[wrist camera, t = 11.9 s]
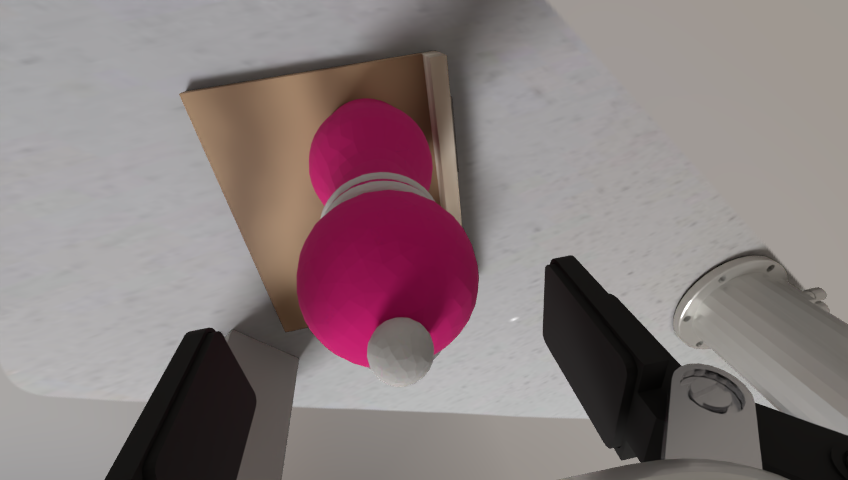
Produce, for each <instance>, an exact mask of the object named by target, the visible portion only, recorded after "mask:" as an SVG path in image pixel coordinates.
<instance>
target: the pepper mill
mask: <svg viewBox="0 0 848 480" xmlns="http://www.w3.org/2000/svg"><path fill="white" fill-rule="evenodd" d="M432 171H433V163H432V155H431V152H430V149H429V145H428V142H427V140H426V137H425V135H424V133H423V132H422V130H421V129H420V127H419V126H418V124H417V123H416V122H415V121H414V120H413V119H412V118H411V117H410V116H408V115H407V114H405V113H404V112H403V111H401V110H399V109H397V108H395V107H393V106H392V105H390V104H388V103H386V102H383V101H381V100H377V99H370V98H362V99H356V100H353V101H350V102H348V103H345V104H344V105H342V106H341V107H339V108H338V109H337V110H336V111H335V112H334V113H333V114H332V115H330V116H329V117H328V118H327V119H326V120H325V121H324V122H323V123H322V124H321V126H320V127H319V129H318V130H317V132H316V134H315V135H314V138H313V141H312V143H311V147H310V152H309V175H310V179H311V183H312V186H313V188H314V190H315V192H316V194H317V196H318V197H319V199H320V200H321V202H322V203H323V205H324V208H323V211H322V214H321V218H320V220H319V221H318V222H317V223H316V224H315V225H314V227H313V229H312V230H311V232H310V234H309V235H308V237H307V239H306V240H305V242H304V245H303V247H302V250H301V252H300V256H299V262H298V268H297V276H296V277H297V296H298V302H299V306H300V309H301V312H302V314H303V317H304V320H305V322H306V324H307V325H308V327H309V328H310V330H311V331H312V333H313V334H314V335H315V336H316V337H317V338H318V340H319V341H320V342H321V343H322V344H323V345H324V346H325V347H326V348H328V349H329V350H330V351H332V352H333V353H334V354H336V355H338V356H340V357H342V358H344V359H346V360H348V361H350V362H352V363H355V364H358V365H361V366H365V367H370V368H371V370H372V371H373V372H374V374H375V375H376V377H377V378H378V379H380V380H381V381H382V382H384V383H386V384H388V385H390V386H395V387H406V386H409V385H412V384H415V383H416V382H418V381H419V380H421V379H422V378H423V377H424V376H425V375H426V373H427V372H428V371H429V369H430V367H431V365H432V362H433V358H434V355H435V354H436V353H438V352H440V351H441V350H442V349H444V348H445V347H446V346H448V345H449V344H450V343H451V342H452V341H453V340H454V339H455V338H456V337H457V336H458V335H459V334H460V332H461V331H462V329H463V328H464V327H465V325H466V324H467V322H468V321H469V318H470V316H471V314H472V311H473V309H474V307H475V304H476V298H477V293H478V281H479V275H478V265H477V261H476V258H475V254H474V251H473V247H472V244H471V242H470V240H469V238H468V236H467V234H466V232H465V231H464V229H463V228H462V226H461V225H460V224H459V222H458V221H457V220H456V219H455V217H454V216H453V215H451V214H450V213H449V212H447V211H446V210H445V209H444V208H442V207H441V206H440V205H438V204H437V203H436V202H435V200H434V199H433V197H432V196H431V195H430V193H429V192H428V191H429V188H430V184H431V179H432Z"/></svg>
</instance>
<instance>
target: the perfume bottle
mask: <svg viewBox="0 0 848 480" xmlns="http://www.w3.org/2000/svg"><path fill="white" fill-rule="evenodd" d="M225 340H226V342H227V343H228V345H229V347H230V349H231V351H232V352H233V354H234V356H235V358H236V360H237V361H238V363H239V365H240V367H241V369H242V370H243V372H244V374H245V376H246V378H247V379H248V381H249V383H250V385H251V387H252V388H253V390H254V392H255V394H256V400H257V402H256V409H255V412H254V416H253V420H252V424H251V427H250V431H249V435H248V439H247V442H246V446H245V450H244V454H243V457H242V461H241V465H240V469H239V472H238V476H237V480H281V479H282V472H283V466H284V459H285V452H286V445H287V438H288V431H289V424H290V417H291V410H292V404H293V397H294V390H295V383H296V376H297V369H298V362H299V358H297V357H294V356H292V355H290V354H288V353H285V352H283V351H281V350H278V349H276V348H274V347H272V346H269V345H267V344H265V343H262V342H260V341H258V340H256V339H253V338H251V337H249V336H246V335H244V334H242V333H240V332H237V331H235V330H233V329H232V330H231V331H230V332H229V334H228V335H227V336H226V337H225Z"/></svg>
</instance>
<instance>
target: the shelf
mask: <svg viewBox="0 0 848 480" xmlns="http://www.w3.org/2000/svg"><path fill="white" fill-rule="evenodd" d="M179 95H180V97H181V99H182V102H183V104H184V106H185V108H186V111H187V113H188V115H189V117H190V120H191V122H192V124H193V126H194V129H195V131H196V133H197V135H198V137H199V140H200V142H201V144H202V146H203V149H204V151H205V153H206V155H207V158H208V160H209V162H210V164H211V167H212V169H213V171H214V173H215V176H216V178H217V180H218V182H219V185H220V187H221V189H222V191H223V194H224V196H225V198H226V200H227V203H228V205H229V207H230V209H231V212H232V214H233V216H234V218H235V221H236V223H237V225H238V227H239V229H240V232H241V234H242V236H243V238H244V241H245V243H246V245H247V247H248V250H249V252H250V254H251V256H252V259H253V261H254V263H255V265H256V268H257V270H258V272H259V274H260V277H261V279H262V281H263V283H264V286H265V288H266V290H267V292H268V295H269V297H270V299H271V301H272V304H273V306H274V308H275V310H276V313H277V315H278V317H279V319H280V322H281V324H282V326H283V328H284V330H285V332H289V331H294V330H299V329H303V328H308V325H307V324H306V322H305V320H304V317H303V314H302V312H301V309H300V306H299V302H298V296H297V277H296V276H297V268H298V262H299V256H300V252H301V250H302V247H303V245H304V242H305V240H306V239H307V237H308V235H309V234H310V232H311V230H312V229H313V227H314V225H315V224H316V223H317V222H318V221H319V220H320V218H321V214H322V211H323V208H324V205H323V203H322V202H321V200H320V199H319V197H318V196H317V194H316V192H315V190H314V188H313V186H312V183H311V179H310V175H309V152H310V147H311V143H312V141H313V138H314V135H315V134H316V132H317V130H318V129H319V127H320V126H321V124H322V123H323V122H324V121H325V120H326V119H327V118H328V117H329V116H330V115H332V114H333V113H334V112H335V111H336V110H337V109H338V108H339V107H341V106H342V105H344V104H345V103H348V102H350V101H353V100H356V99H362V98H370V99H377V100H381V101H383V102H386V103H388V104H390V105H392V106H393V107H395V108H397V109H399V110H401V111H403V112H404V113H405V114H407V115H408V116H410V117H411V118H412V119H413V120H414V121H415V122H416V123H417V124H418V126H419V127H420V129H421V130H422V132H423V133H424V135H425V137H426V140H427V142H428V145H429V149H430V152H431V155H432V163H433V171H432V179H431V184H430V188H429V191H428V192H429V193H430V195H431V196H432V197H433V199H434V200H435V202H436V203H437V204H438V205H440V206H441V207H442V208H444V209H445V210H446V211H447V212H449V213H450V214H451V215H453V216H454V217H455V219H456V220H457V221H458V222H459V224H460V225H461V226H462V221H461V210H460V198H459V187H458V176H457V172H458V160H457V149H456V138H455V126H454V115H453V103H452V97H451V96H450V87H449V76H448V65H447V55H445V54H443V53H440V52H437V51H429V52H423V53H417V54H411V55H405V56H398V57H392V58H386V59H380V60H374V61H368V62H362V63H356V64H349V65H343V66H337V67H331V68H325V69H319V70H313V71H307V72H300V73H294V74H288V75H282V76H276V77H270V78H264V79H258V80H252V81H245V82H239V83H233V84H227V85H221V86H215V87H209V88H203V89H196V90H190V91H185V92H183V93H180V94H179Z"/></svg>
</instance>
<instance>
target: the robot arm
mask: <svg viewBox="0 0 848 480" xmlns="http://www.w3.org/2000/svg"><path fill="white" fill-rule="evenodd" d="M826 296H827V294H826V292H825V291H824V290H823V289H822V288H819V287H818V288H812V289H808V290H804V291H801V290H800V289H798V288H796V287H795V286H793V285H791V284H790V283H788V276H787V272H786V270H785V269H784V267H783V266H782V265H780V264H779V263H778V262H776V261H774V260H772V259H770V258H768V257H765V256H746V257H742V258H737V259H735V260H732V261H729V262H726V263H725V264H723V265H721V266H719V267H717V268H715V269H713V270H712V271H710V272H709V273H707V274H706V275H705V276H703V277H702V278H701V279H700V280H699V281H697V282H696V283H695V284H694V285H693V286H692V287H691V288H690V289H689V290H688V292H687V293H686V294H685V296H684V297H683V298H682V300H681V301H680V303H679V305H678V307H677V309H676V312H675V315H674V320H673V327H674V331H675V333H676V335H677V337H679V338H680V339H681V340H682V341H683V343H685V344H686V345H688V346H689V347H692V348H696V349H712V350H713V351H714V352H715V353H716V354H717V355H719V356H720V357H721V358H722V359H723V360H724V361H725V362H726V363H727V364H728V365H730V366H731V367H732V368H733V369H734V370H735V371H736V372H737V373H738V374H739V375H740V376H742V377H743V378H744V379H745V380H746V381H747V382H748V383H749V384H750V385H751V386H753V387H754V388H755V389H756V390H757V391H758V392H759V393H760V394H761V395H762V396H763V397H765V398H766V399H767V400H768V401H769V402H770V403H771V404H772V405H773V406H774V407H776V408H777V409H778V410H779V411H777V410H774V409H771V408H768V407H766V406H763V405H760V404H757V403H755V402H754V399H753V396H752V394H751V392H750V391H749V390H748V388H747V387H746V386H745V385H744V384H743V383H742V382H741V381H739V380H738V379H737V378H736V377H734V376H733V375H731V374H729V373H727V372H726V371H724V370H721V369H719V368H716V367H713V366H710V365H704V364H687V365H683V366H681V365H680V364H679V363H678V362H677V361H676V360H675V359H674V358H673V357H672V356H671V355H670V353H669V352H668V351H667V350H666V349H665V348H664V347H663V346H662V345H661V344H660V343H659V342H658V341H657V340H656V339H655V338H654V337H653V335H652V334H651V333H650V332H649V331H648V330H647V329H646V328H645V327H644V326H643V325H642V324H641V323H640V322H639V321H638V320H637V318H636V317H635V316H634V315H633V314H632V313H631V312H630V311H629V310H628V309H627V308H626V307H625V306H624V305H623V304H622V303H621V302H620V300H619V299H618V298H616V297H615V296H614V295H612V294H608V293H607V292H606V291H605V289H604V288H603V287H602V286H601V285H600V284H599V283H598V282H597V281H596V280H595V279H594V278H593V277H592V275H591V274H590V273H589V272H588V271H587V270H586V269H585V268H584V267H583V266H582V265H581V264H580V262H579V261H578V260H577V259H576V258H575V257H574V256H571V255H570V256H565V257H560V258H555V259H552V260H551V262H550V265H547V266H546V267H545V287H544V313H543V337H544V340H545V343H546V345H547V346H548V348H549V350H550V352H551V353H552V355H553V357H554V358H555V360H556V362H557V363H558V365H559V367H560V369H561V370H562V372H563V374H564V375H565V377H566V379H567V381H568V382H569V384H570V386H571V387H572V389H573V391H574V393H575V394H576V396H577V398H578V399H579V401H580V403H581V404H582V406H583V408H584V410H585V411H586V413H587V415H588V416H589V418H590V420H591V421H592V423H593V425H594V427H595V428H596V430H597V432H598V433H599V435H600V437H601V439H602V440H603V442H604V443H605V445H606V446H607V447H608V448H614V449H615V451H616V453H617V454H618V456H619V457H620V459H621V460H626V459H630V458H634V457H637V458H638V459H639V461H640V462H641V463H637V464H630V465H625V466H620V467H615V468H610V469H606V470H601V471H596V472H592V473H587V474H582V475H578V476H573V477H569V478H564V479H559V480H848V324H847V323H845V322H843V321H842V320H840V319H839V318H837V317H835V316H834V315H832V314H830V310H829V308H828V306H827V305H826V304H825V303H823V302H821V301H820V300H824V299H825V298H826ZM256 402H257V400H256V394H255V392H254V390H253V388H252V387H251V385H250V383H249V381H248V379H247V378H246V376H245V374H244V372H243V370H242V369H241V367H240V365H239V363H238V361H237V360H236V358H235V356H234V354H233V352H232V351H231V349H230V347H229V345H228V343H227V342H226V340H225V338H224V336H223V335H222V333H221V332H219V331H217V332H216V331H215V330H214V329H213V328H205V329H200V330H195V331H190V332H188V333H186V335H185V336H184V338H183V339H182V341H181V343H180V345H179V347H178V348H177V350H176V352H175V354H174V356H173V357H172V359H171V361H170V363H169V365H168V366H167V368H166V370H165V372H164V374H163V375H162V377H161V379H160V381H159V383H158V384H157V386H156V388H155V390H154V392H153V393H152V395H151V397H150V399H149V401H148V402H147V404H146V406H145V408H144V410H143V411H142V413H141V415H140V417H139V419H138V420H137V422H136V424H135V426H134V428H133V429H132V431H131V433H130V435H129V437H128V438H127V440H126V442H125V444H124V446H123V447H122V449H121V451H120V453H119V455H118V456H117V458H116V460H115V462H114V464H113V466H112V467H111V469H110V471H109V473H108V475H107V476H106V478H105V480H237V476H238V472H239V469H240V465H241V461H242V457H243V454H244V450H245V446H246V442H247V439H248V435H249V431H250V427H251V424H252V420H253V416H254V412H255V409H256Z"/></svg>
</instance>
